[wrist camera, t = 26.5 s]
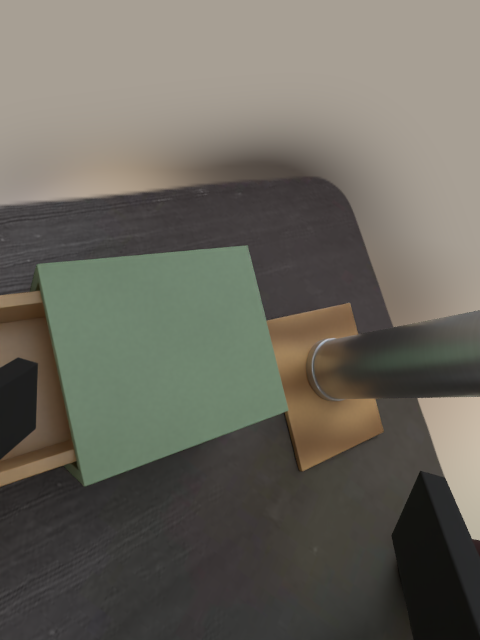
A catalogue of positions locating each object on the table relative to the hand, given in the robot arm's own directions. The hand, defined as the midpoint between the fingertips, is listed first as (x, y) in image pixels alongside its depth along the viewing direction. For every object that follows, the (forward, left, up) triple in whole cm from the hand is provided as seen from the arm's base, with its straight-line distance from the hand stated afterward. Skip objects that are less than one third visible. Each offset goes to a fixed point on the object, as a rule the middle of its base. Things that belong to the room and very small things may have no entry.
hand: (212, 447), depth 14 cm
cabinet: (-4, +6, -23) cm, 24 cm away
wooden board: (+3, +26, -23) cm, 34 cm away
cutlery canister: (+2, +26, -22) cm, 34 cm away
